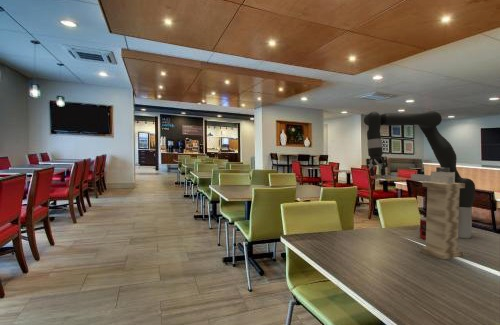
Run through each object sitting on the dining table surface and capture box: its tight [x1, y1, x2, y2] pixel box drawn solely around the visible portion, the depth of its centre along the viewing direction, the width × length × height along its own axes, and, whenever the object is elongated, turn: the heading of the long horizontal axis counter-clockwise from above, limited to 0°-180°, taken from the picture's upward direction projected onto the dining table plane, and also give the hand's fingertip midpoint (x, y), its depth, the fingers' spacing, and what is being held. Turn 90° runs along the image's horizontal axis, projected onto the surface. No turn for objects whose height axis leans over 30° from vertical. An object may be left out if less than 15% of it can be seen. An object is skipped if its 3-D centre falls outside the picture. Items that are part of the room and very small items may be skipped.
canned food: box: [419, 216, 427, 241], centre depth 148 cm, size 8×8×11 cm
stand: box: [419, 181, 465, 261], centre depth 125 cm, size 14×10×33 cm
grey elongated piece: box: [410, 166, 455, 184], centre depth 130 cm, size 6×18×7 cm, turn 22°
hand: (377, 175), depth 153 cm, fingers open, 8 cm apart
